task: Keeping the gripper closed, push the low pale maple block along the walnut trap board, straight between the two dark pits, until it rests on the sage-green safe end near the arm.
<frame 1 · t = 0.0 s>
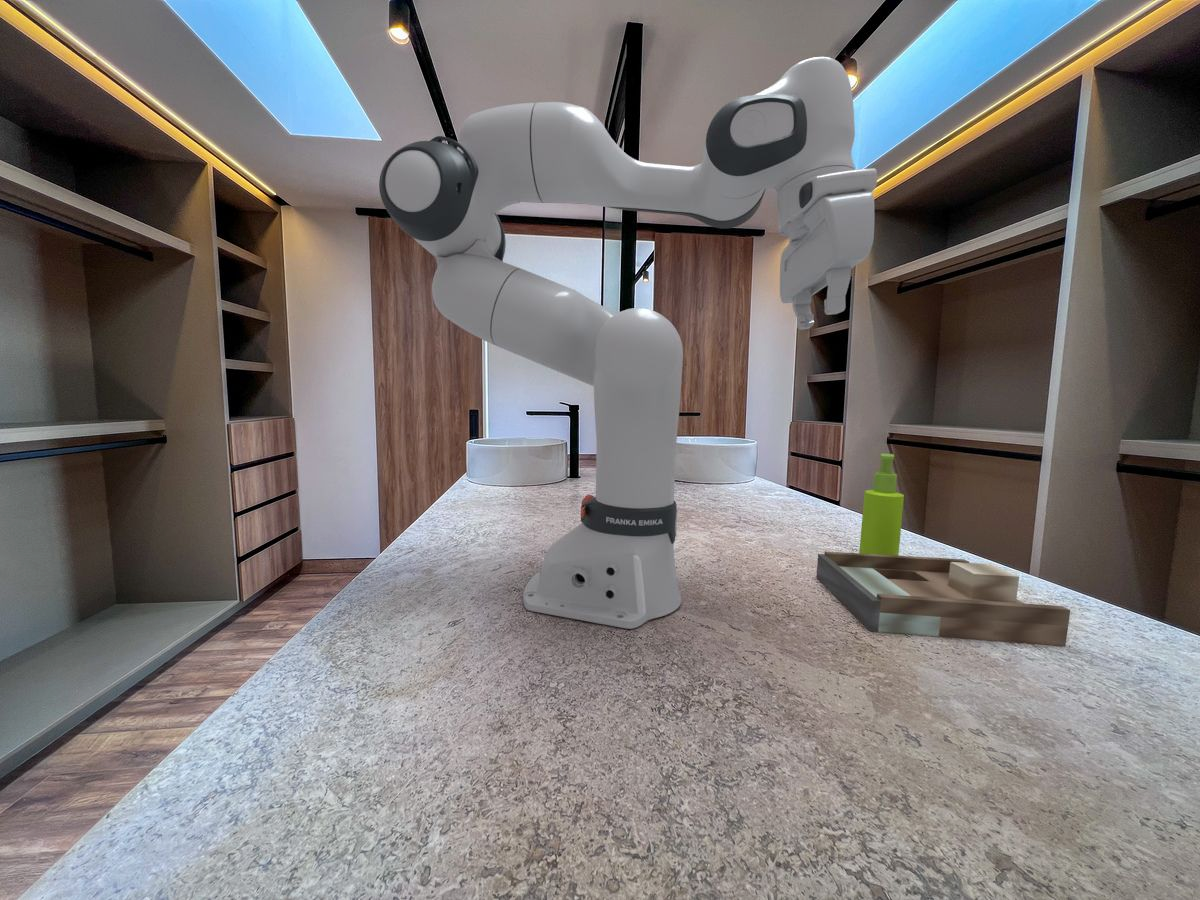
hand: (819, 321, 55), 39 cm above the countertop, fingers open, 8 cm apart
maple block: (980, 593, 59), point 2 cm above the countertop, touching trap board
trap board: (920, 606, 60), on the countertop
soap dispenser: (877, 564, 77), on the countertop
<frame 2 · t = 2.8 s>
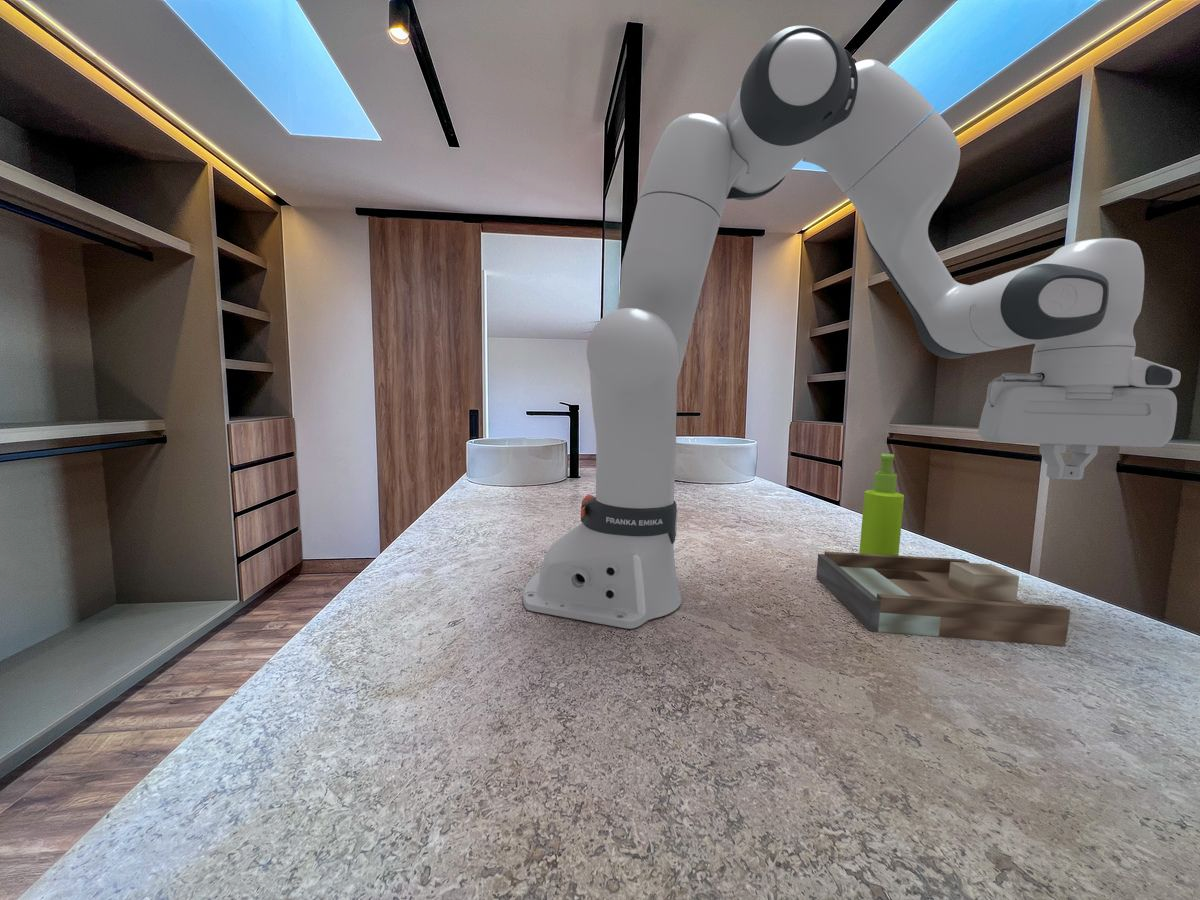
hand: (1063, 478, 56), 19 cm above the countertop, fingers closed
nothing on the countertop moved.
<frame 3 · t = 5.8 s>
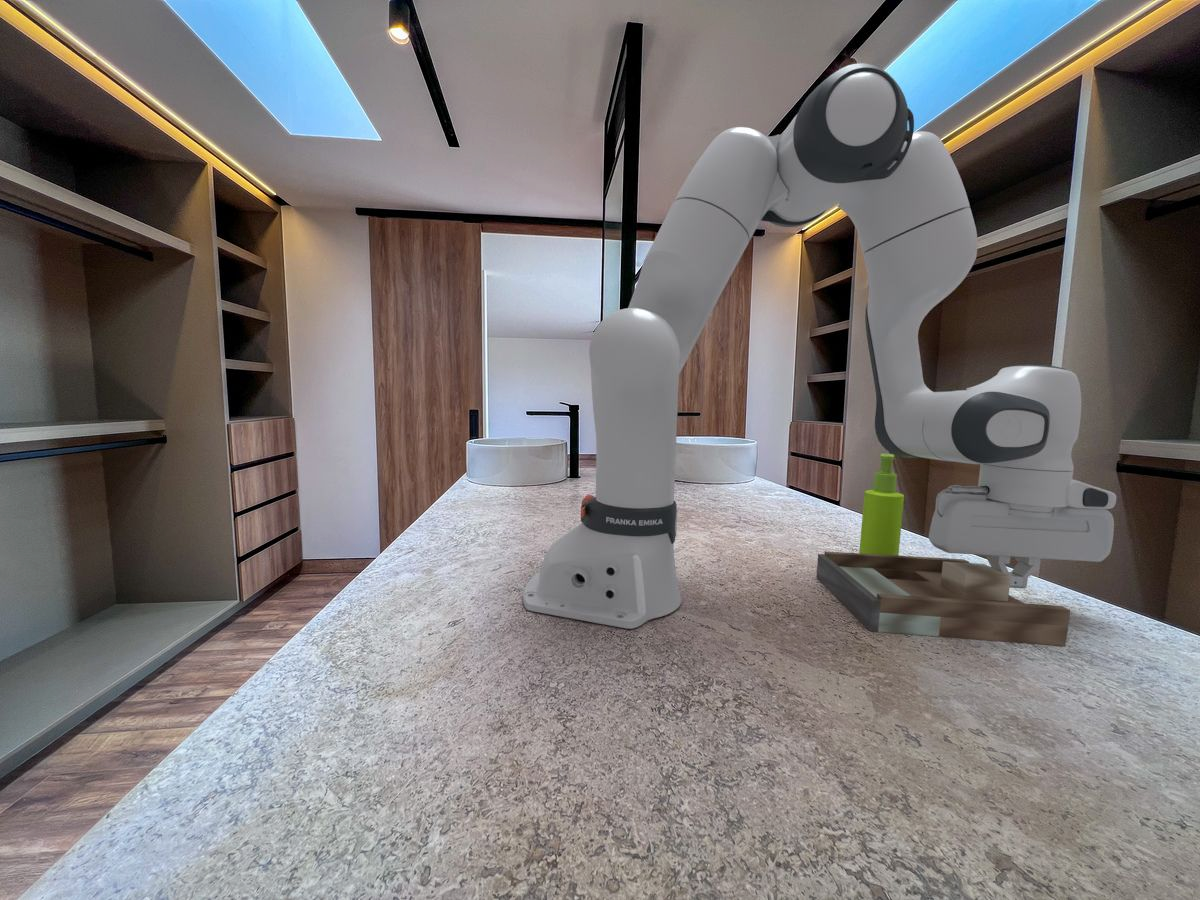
hand: (1009, 586, 59), 4 cm above the countertop, fingers closed
nothing on the countertop moved.
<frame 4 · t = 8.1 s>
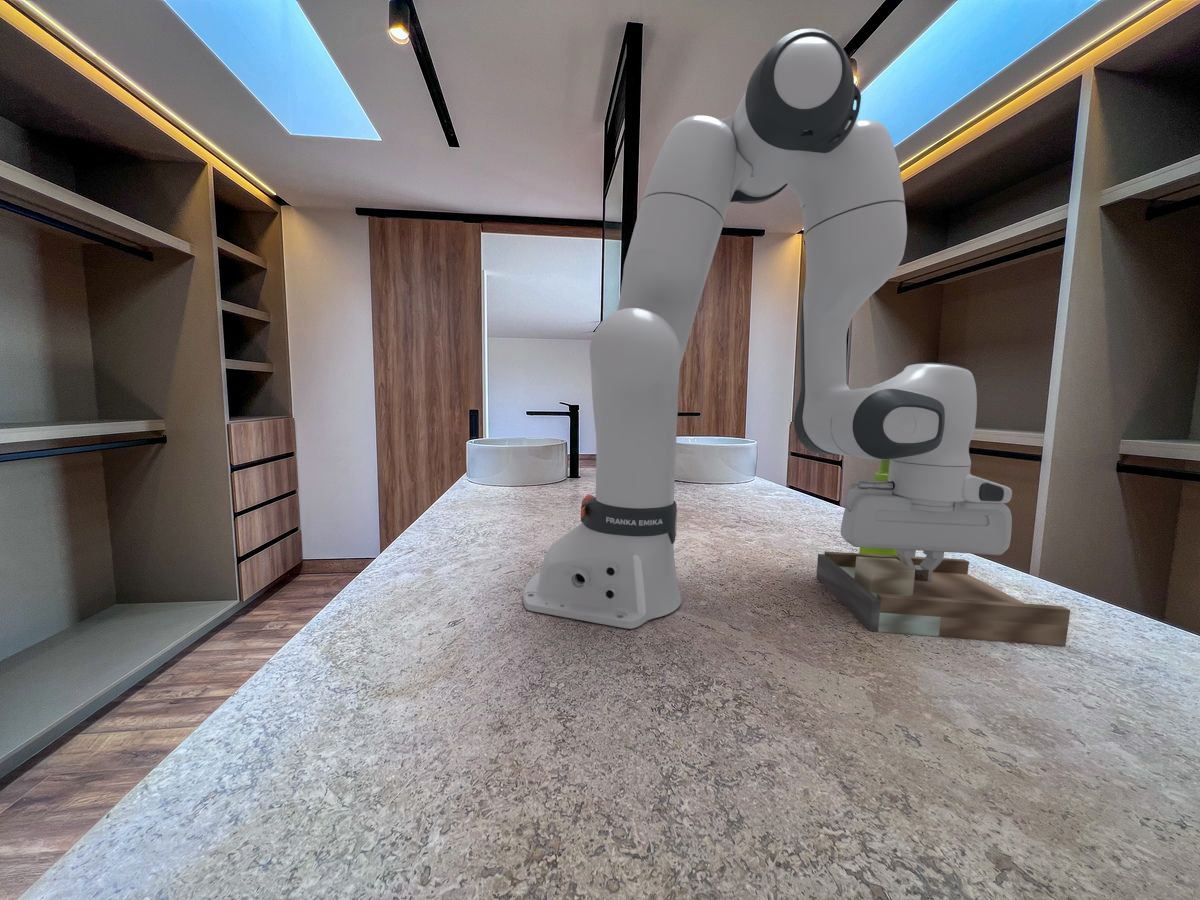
hand: (916, 579, 60), 4 cm above the countertop, fingers closed
maple block: (882, 586, 60), point 3 cm above the countertop, touching gripper, trap board
everything else where it was.
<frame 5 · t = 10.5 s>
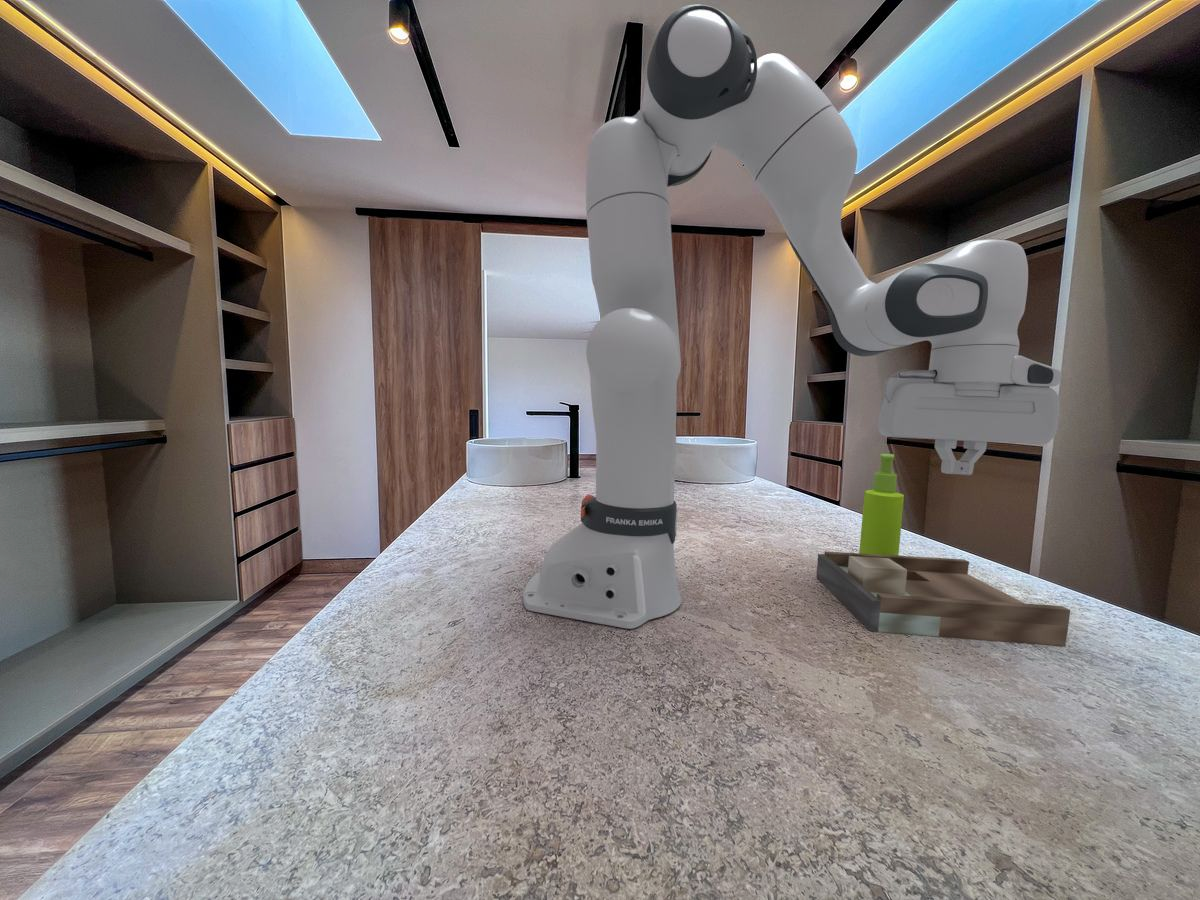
hand: (956, 473, 58), 19 cm above the countertop, fingers closed
maple block: (874, 586, 61), point 2 cm above the countertop, touching trap board
everything else where it was.
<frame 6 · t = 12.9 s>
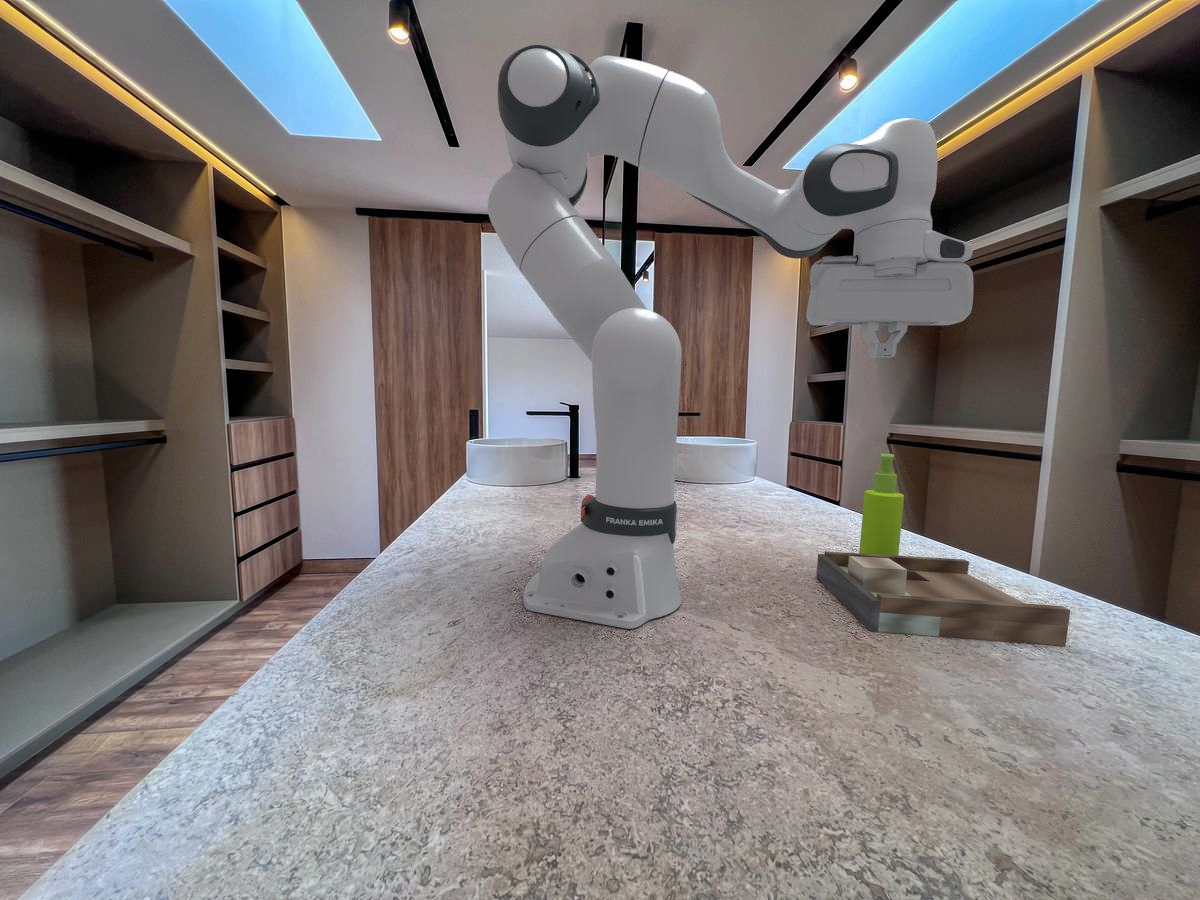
hand: (881, 357, 60), 35 cm above the countertop, fingers closed
nothing on the countertop moved.
at the end: maple block inside the target area (0.4 cm from its centre), point 2.5 cm above the countertop; maple block tilted 0° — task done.
